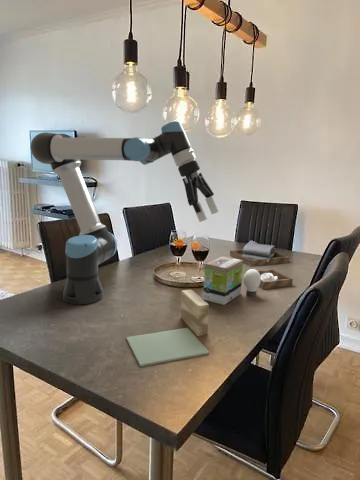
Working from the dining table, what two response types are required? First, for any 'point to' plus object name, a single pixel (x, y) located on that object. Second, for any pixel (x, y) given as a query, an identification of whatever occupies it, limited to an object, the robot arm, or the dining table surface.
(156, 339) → the mat
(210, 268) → the tea box
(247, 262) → the frame
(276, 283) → the rose frame
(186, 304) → the tan rectangular box
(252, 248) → the towel
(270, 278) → the rose
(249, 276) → the light bulb
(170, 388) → the dining table surface
